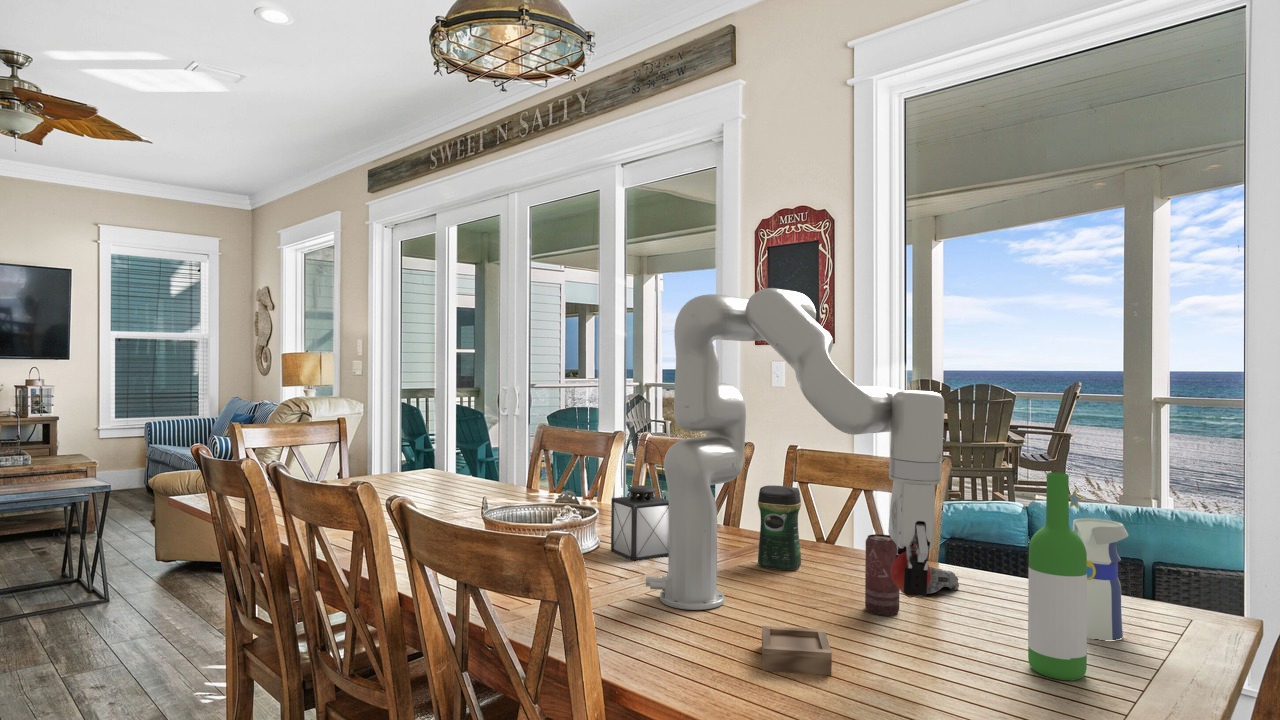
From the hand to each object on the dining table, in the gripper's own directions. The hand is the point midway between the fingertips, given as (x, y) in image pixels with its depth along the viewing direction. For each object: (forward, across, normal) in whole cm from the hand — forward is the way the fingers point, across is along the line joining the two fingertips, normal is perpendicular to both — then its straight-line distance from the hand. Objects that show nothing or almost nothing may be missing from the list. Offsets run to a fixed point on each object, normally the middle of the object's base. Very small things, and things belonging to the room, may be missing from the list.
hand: (910, 586), depth 114 cm
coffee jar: (+14, -55, -17) cm, 59 cm away
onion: (+2, 0, 0) cm, 2 cm away
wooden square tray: (+13, +1, -17) cm, 21 cm away
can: (+13, -26, +1) cm, 29 cm away
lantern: (+15, -61, -50) cm, 80 cm away
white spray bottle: (+12, -20, +36) cm, 43 cm away
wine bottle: (+12, -1, +22) cm, 25 cm away
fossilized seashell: (+13, -42, +14) cm, 46 cm away
